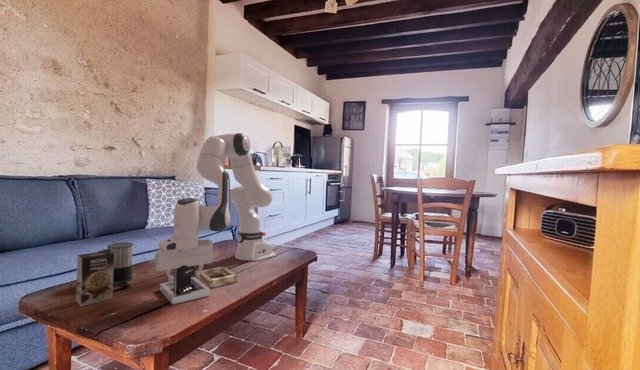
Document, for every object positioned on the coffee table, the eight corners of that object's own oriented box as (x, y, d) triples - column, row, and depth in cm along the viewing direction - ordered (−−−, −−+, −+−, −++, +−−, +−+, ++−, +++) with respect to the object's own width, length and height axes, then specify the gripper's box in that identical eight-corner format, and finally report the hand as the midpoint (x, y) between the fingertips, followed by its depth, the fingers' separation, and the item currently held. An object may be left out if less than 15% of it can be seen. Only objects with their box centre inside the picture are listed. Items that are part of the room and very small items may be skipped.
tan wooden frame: (223, 272, 135) (223, 266, 135) (237, 282, 124) (237, 275, 124) (196, 278, 127) (196, 271, 127) (209, 288, 116) (209, 280, 116)
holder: (194, 282, 121) (194, 276, 121) (209, 295, 109) (210, 289, 109) (159, 290, 113) (160, 283, 112) (172, 304, 101) (172, 297, 101)
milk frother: (122, 275, 126) (122, 240, 126) (150, 280, 122) (151, 245, 121) (86, 286, 113) (87, 248, 113) (116, 293, 108) (117, 253, 108)
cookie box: (81, 307, 96) (82, 258, 96) (75, 301, 100) (76, 254, 99) (113, 298, 103) (114, 253, 103) (106, 293, 107) (108, 249, 107)
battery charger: (181, 297, 107) (182, 266, 107) (173, 295, 108) (174, 264, 108) (195, 290, 114) (196, 261, 113) (187, 288, 115) (188, 259, 115)
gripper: (210, 237, 120) (208, 271, 120) (153, 243, 106) (152, 281, 106) (216, 240, 115) (214, 275, 115) (158, 246, 101) (156, 286, 102)
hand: (184, 278), depth 111 cm, fingers open, 8 cm apart
